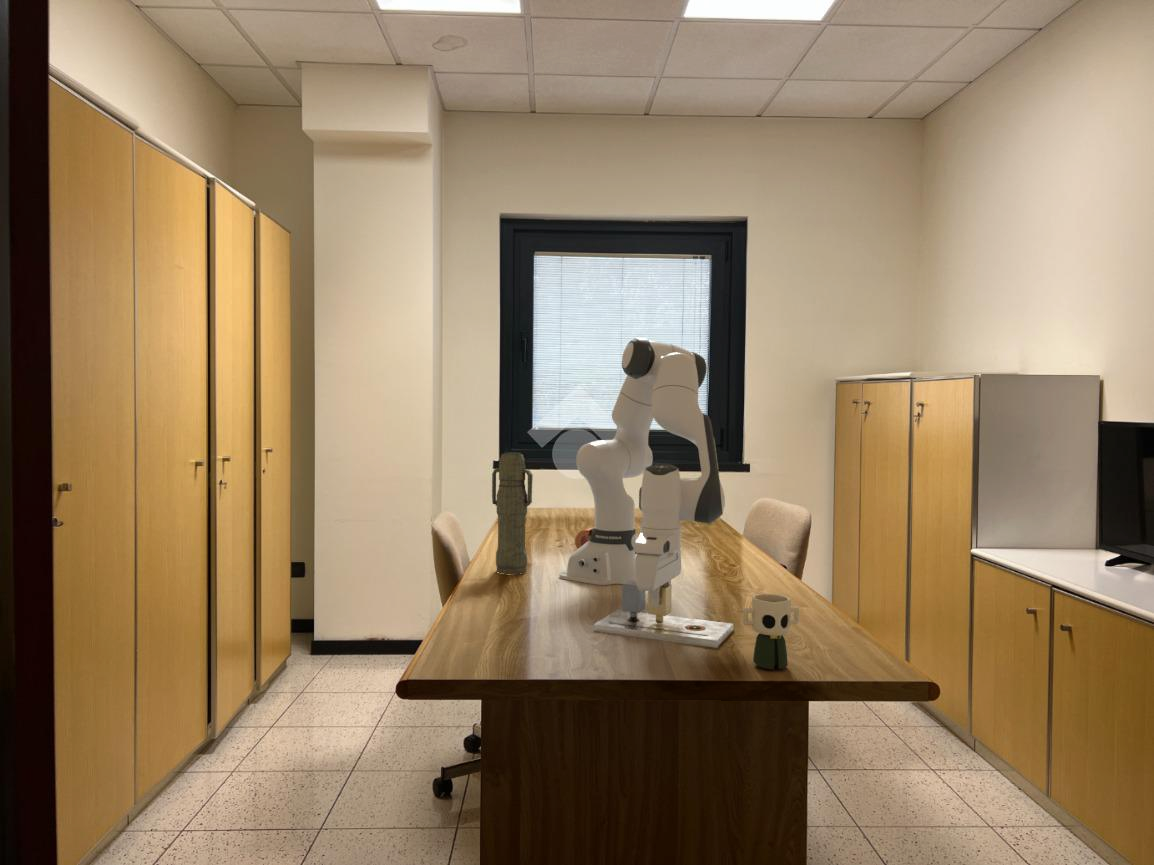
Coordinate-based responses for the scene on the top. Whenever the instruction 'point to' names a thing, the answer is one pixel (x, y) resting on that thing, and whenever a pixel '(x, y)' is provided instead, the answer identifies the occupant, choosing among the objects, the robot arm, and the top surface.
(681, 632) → the bolt plate
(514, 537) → the brown tall vase
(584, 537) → the crank
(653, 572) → the robot arm
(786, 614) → the character mug
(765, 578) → the top surface
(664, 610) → the wooden block peg
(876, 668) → the top surface
